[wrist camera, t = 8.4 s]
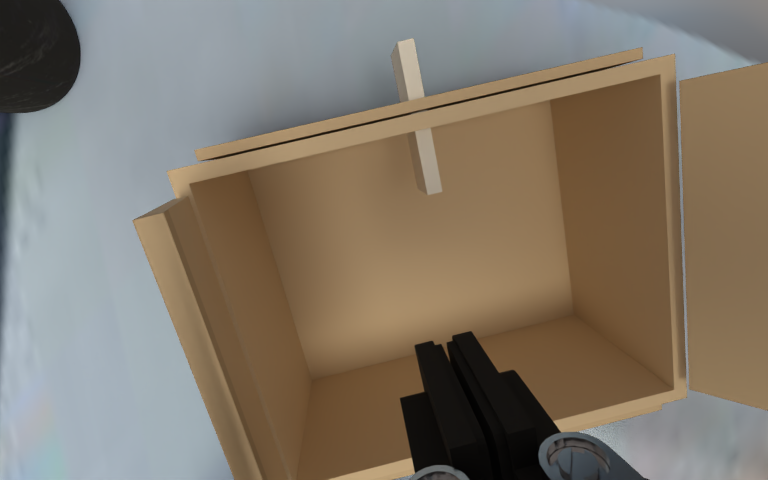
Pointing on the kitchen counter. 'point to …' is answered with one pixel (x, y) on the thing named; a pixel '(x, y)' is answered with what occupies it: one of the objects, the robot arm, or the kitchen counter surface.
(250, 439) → the left flap
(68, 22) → the travel mug
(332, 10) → the kitchen counter surface
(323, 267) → the carton
